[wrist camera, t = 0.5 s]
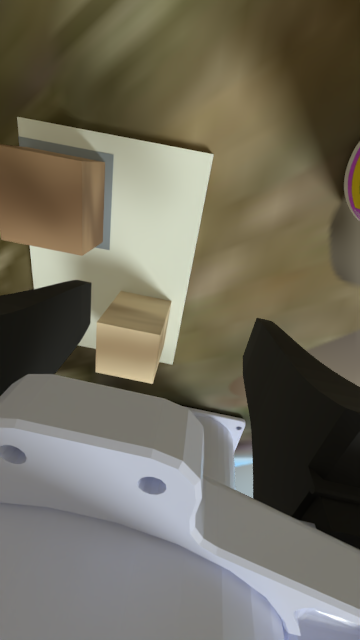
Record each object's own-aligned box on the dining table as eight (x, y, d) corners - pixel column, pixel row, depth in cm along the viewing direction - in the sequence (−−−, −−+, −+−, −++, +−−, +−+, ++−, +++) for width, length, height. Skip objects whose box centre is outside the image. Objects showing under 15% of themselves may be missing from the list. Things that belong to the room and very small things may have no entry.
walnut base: (102, 241, 20) (82, 255, 17) (34, 228, 20) (1, 239, 17) (105, 162, 17) (81, 161, 14) (27, 147, 18) (-13, 142, 14)
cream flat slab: (173, 360, 25) (172, 364, 24) (42, 333, 25) (38, 337, 25) (213, 154, 17) (213, 154, 17) (22, 118, 17) (16, 116, 17)
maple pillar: (164, 343, 24) (152, 383, 19) (117, 334, 24) (95, 372, 19) (171, 301, 22) (160, 335, 17) (120, 290, 22) (96, 322, 17)
